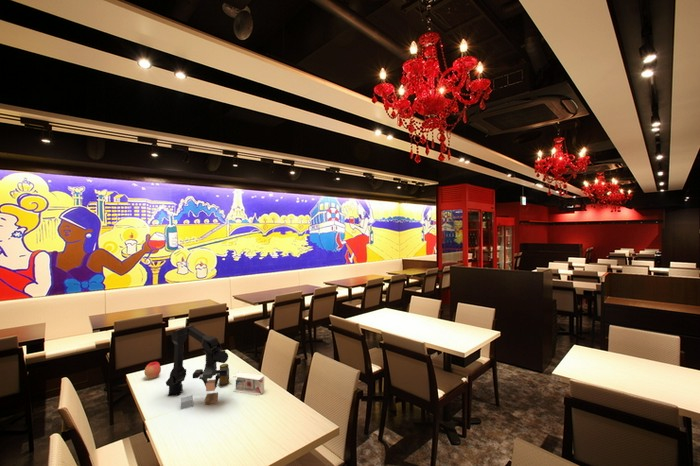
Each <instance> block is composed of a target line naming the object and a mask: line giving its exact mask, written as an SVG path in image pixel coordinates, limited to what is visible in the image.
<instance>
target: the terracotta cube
mask: <svg viewBox="0 0 700 466" xmlns="http://www.w3.org/2000/svg"><path fill="white" fill-rule="evenodd" d="M215 380H216V379H215V378H214V379H208V381H207V383H206V386H205V392H215V390H216V388H217V386H216V387H215Z"/></svg>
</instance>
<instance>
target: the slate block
mask: <svg viewBox="0 0 700 466" xmlns="http://www.w3.org/2000/svg"><path fill="white" fill-rule="evenodd" d="M193 396H194V395H193V394H191V395H187V396H183V397H180V410H184V409H188V408H192V407H194V397H193Z"/></svg>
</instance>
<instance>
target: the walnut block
mask: <svg viewBox="0 0 700 466" xmlns="http://www.w3.org/2000/svg"><path fill="white" fill-rule="evenodd" d="M218 400H219V392H209V393H206V396H205V397H204V406H212V405H217V403H218Z"/></svg>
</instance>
